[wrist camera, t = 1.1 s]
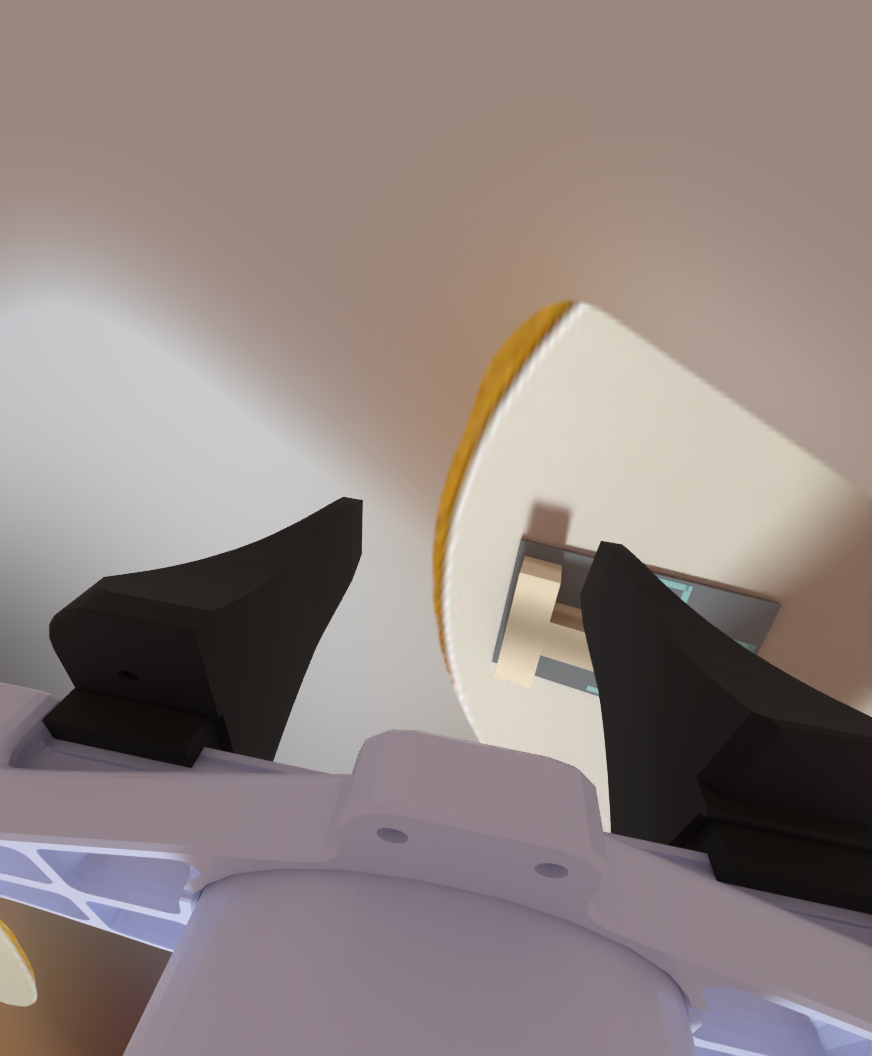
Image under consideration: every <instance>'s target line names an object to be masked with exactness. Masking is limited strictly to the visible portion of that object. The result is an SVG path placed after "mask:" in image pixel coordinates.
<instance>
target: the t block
mask: <svg viewBox="0 0 872 1056" xmlns="http://www.w3.org/2000/svg"><path fill="white" fill-rule="evenodd" d="M561 573H562V565H559V564H555V563H551V562H547V561H543V560H540V559H536V558H532V557H528V556H525V558H524V561H523V564H522V567H521V570H520V573H519V577H518V582H517V586H516V590H515V594H514V598H513V602H512V606H511V610H510V614H509V618H508V622H507V627H506V631H505V635H504V639H503V643H502V647H501V651H500V655H499V659H498V663H497V667H496V671H495V676H494V677H496V678H499V679H502V680H505V681H508V682H511V683H514V684H517V685H520V686H523V687H526V688H529V689H531V686H532V682H533V679H534V675H535V672H536V668H537V665H538V661H539V658H540V655H541V656H545V657H548V658H551V659H554V660H557V661H561V662H564V663H567V664H570V665H573V666H577V667H580V668H583V669H586V670H589V671H593V666H592V662H591V658H590V654H589V649H588V645H587V641H586V636H585V632H584V627H583V622H582V612H581V609H579V608H575V607H571V606H568V605H564V604H561V603H557V602H555V601H556V598H557V594H558V591H559V587H560V584H561ZM593 672H594V671H593Z"/></svg>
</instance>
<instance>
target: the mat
mask: <svg viewBox="0 0 872 1056" xmlns="http://www.w3.org/2000/svg"><path fill="white" fill-rule="evenodd" d="M525 556H528V557H532V558H536V559H540V560H543V561H547V562H551V563H555V564H559V565H562V573H561V584H560V587H559V591H558V594H557V598H556V601H555V602H557V603H561V604H564V605H568V606H571V607H575V608H579V609H581V596H580V593H581V590H582V588H583V585H584V583H585V580H586V578H587V575H588V573H589V570H590V568H591V565H592V563H593V560H594V558H595V557H591V556H587V555H583V554H579V553H575V552H571V551H567V550H563V549H559V548H555V547H551V546H547V545H543V544H539V543H535V542H531V541H527V540H523V539H521V543H520V547H519V551H518V555H517V560H516V564H515V568H514V572H513V576H512V580H511V585H510V589H509V593H508V597H507V601H506V606H505V610H504V614H503V618H502V622H501V626H500V631H499V635H498V639H497V643H496V647H495V652H494V656H493V660H492V662H495V663H498V659H499V655H500V651H501V647H502V643H503V639H504V635H505V631H506V627H507V622H508V618H509V614H510V610H511V606H512V602H513V598H514V594H515V590H516V586H517V582H518V577H519V573H520V570H521V567H522V564H523V561H524V558H525ZM651 572H652V571H651ZM652 573H654V574H655V575H656V576H657V577H658V578H659V579H660V580H661V581H662V582H663V583H664V584H665V585H666V586H667V587H668V588H669V589H671V590H672V591H673V592H674V593H675V594H676V595H677V596H678V597H679V598H681V599H682V600H683V601H684V602H685V603H686V604H688V605H689V606H690V607H691V608H692V609H694V610H695V611H696V612H697V613H698V614H700V615H701V616H702V617H703V618H705V619H706V620H707V621H708V622H710V623H711V624H712V625H714V626H715V627H717V628H718V629H719V630H721V631H722V632H723V633H725V634H726V635H727V636H729V637H730V638H732V639H733V640H734V641H736V642H737V643H739V644H740V645H742V646H743V647H745V648H746V649H748V650H749V651H751V652H753V653H754V654H757V652H758V650H759V648H760V646H761V644H762V642H763V640H764V638H765V636H766V634H767V632H768V630H769V628H770V626H771V624H772V622H773V620H774V618H775V616H776V614H777V612H778V610H779V608H780V606H781V605H780V604H779V603H776V602H772V601H768V600H764V599H760V598H756V597H752V596H748V595H744V594H740V593H736V592H732V591H728V590H724V589H720V588H716V587H712V586H708V585H704V584H700V583H696V582H692V581H688V580H684V579H680V578H676V577H672V576H668V575H664V574H660V573H656V572H652ZM535 676H538V677H541V678H544V679H547V680H550V681H553V682H556V683H559V684H563V685H566V686H569V687H572V688H575V689H578V690H581V691H584V692H587V693H590V694H593V695H597V696H599V693H598V688H597V683H596V679H595V675H594V672H593V671H589V670H586V669H583V668H580V667H577V666H573V665H570V664H567V663H564V662H561V661H557V660H554V659H551V658H548V657H545V656H541V655H540V658H539V661H538V665H537V668H536V672H535Z"/></svg>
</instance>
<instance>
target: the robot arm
mask: <svg viewBox="0 0 872 1056" xmlns="http://www.w3.org/2000/svg"><path fill="white" fill-rule="evenodd" d="M362 507H363V500H358V499H352V498H347V497H342V498H340V499H338V500H336V501H334V502H333V503H331V504H329V505H327V506H326V507H324V508H322V509H320V510H319V511H317V512H315V513H313V514H312V515H310V516H308V517H307V518H304V519H303V520H301V521H299V522H297V523H295V524H293V525H291V526H289V527H287V528H285V529H283V530H281V531H279V532H277V533H275V534H273V535H271V536H268V537H266V538H264V539H261V540H259V541H256V542H254V543H251V544H249V545H246V546H243V547H240V548H238V549H235V550H232V551H228V552H225V553H222V554H218V555H215V556H212V557H208V558H205V559H201V560H197V561H193V562H189V563H185V564H180V565H176V566H171V567H167V568H161V569H156V570H150V571H143V572H137V573H130V574H123V575H116V576H108V577H103V578H102V579H101V580H99V581H98V582H97V583H96V584H94V585H93V586H92V587H90V588H89V589H88V590H87V591H85V592H84V593H83V594H81V595H80V596H79V597H78V598H76V599H75V600H74V601H72V602H71V603H70V604H69V605H67V606H66V607H65V608H63V609H62V610H61V611H59V612H58V613H57V614H56V615H55V616H54V617H53V619H52V620H51V622H50V624H49V637H50V641H51V643H52V646H53V648H54V650H55V652H56V654H57V656H58V657H59V659H60V661H61V663H62V665H63V666H64V668H65V670H66V672H67V674H68V675H69V677H70V679H71V681H72V683H73V684H74V686H75V688H74V689H73V690H72V691H71V692H70V693H69V695H67V696H66V697H65V698H64V699H63V700H62V701H61V700H60V699H58V698H57V697H56V696H54V695H52V694H50V693H47V692H44V691H40V690H35V689H30V688H25V687H21V686H16V685H11V684H6V683H0V897H2V898H6V899H9V900H13V901H16V902H19V903H22V904H26V905H29V906H32V907H35V908H38V909H42V910H45V911H48V912H51V913H54V914H57V915H60V916H64V917H67V918H70V919H73V920H76V921H79V922H82V923H85V924H88V925H91V926H94V927H97V928H100V929H103V930H107V931H110V932H112V933H116V934H119V935H122V936H125V937H128V938H131V939H134V940H137V941H140V942H143V943H146V944H149V945H152V946H155V947H158V948H161V949H165V950H168V951H171V952H173V953H172V956H171V958H170V960H169V962H168V964H167V966H166V968H165V970H164V972H163V974H162V976H161V978H160V981H159V983H158V984H157V986H156V988H155V991H154V993H153V995H152V997H151V999H150V1001H149V1003H148V1005H147V1007H146V1009H145V1012H144V1013H143V1015H142V1017H141V1019H140V1021H139V1024H138V1025H137V1028H136V1030H135V1032H134V1034H133V1036H132V1038H131V1040H130V1042H129V1044H128V1046H127V1048H126V1050H125V1053H124V1054H123V1056H872V717H870V716H868V715H866V714H864V713H862V712H860V711H858V710H856V709H854V708H852V707H850V706H848V705H846V704H843V703H841V702H839V701H837V700H835V699H833V698H831V697H829V696H827V695H825V694H823V693H821V692H820V691H818V690H816V689H814V688H812V687H810V686H809V685H807V684H805V683H803V682H801V681H799V680H798V679H796V678H794V677H792V676H790V675H789V674H787V673H785V672H784V671H782V670H780V669H778V668H777V667H775V666H773V665H772V664H770V663H768V662H767V661H765V660H764V659H762V658H761V657H759V656H757V655H756V654H754V653H753V652H751V651H749V650H748V649H746V648H745V647H743V646H742V645H740V644H739V643H737V642H736V641H734V640H733V639H732V638H730V637H729V636H727V635H726V634H725V633H723V632H722V631H721V630H719V629H718V628H717V627H715V626H714V625H712V624H711V623H710V622H708V621H707V620H706V619H705V618H703V617H702V616H701V615H700V614H698V613H697V612H696V611H695V610H694V609H692V608H691V607H690V606H689V605H688V604H686V603H685V602H684V601H683V600H682V599H681V598H679V597H678V596H677V595H676V594H675V593H674V592H673V591H672V590H671V589H669V588H668V587H667V586H666V585H665V584H664V583H663V582H662V581H661V580H660V579H659V578H658V577H657V576H656V575H655V574H654V573H652V572H651V571H650V570H649V569H648V568H647V567H646V566H645V565H644V564H643V563H642V562H641V561H640V560H639V559H638V558H637V557H636V556H635V555H634V554H633V553H632V552H630V551H629V550H628V549H627V548H626V547H625V546H623V545H622V544H616V543H610V542H604V541H601V542H600V545H599V547H598V550H597V552H596V555H595V558H594V560H593V563H592V565H591V568H590V570H589V573H588V575H587V578H586V580H585V583H584V585H583V588H582V590H581V593H580V596H581V612H582V622H583V627H584V632H585V636H586V641H587V645H588V649H589V654H590V658H591V662H592V666H593V671H594V675H595V679H596V683H597V688H598V693H599V698H600V704H601V712H602V720H603V729H604V738H605V749H606V760H607V771H608V786H609V801H610V820H611V833H607V832H603V829H602V823H601V817H600V811H599V805H598V799H597V793H596V787H595V786H594V785H593V784H592V783H591V782H590V781H589V779H588V778H587V777H586V776H585V775H584V774H583V773H582V772H581V771H580V770H578V769H577V768H576V767H574V766H571V765H569V764H566V763H563V762H561V761H558V760H555V759H553V758H550V757H546V756H541V755H536V754H531V753H526V752H521V751H516V750H511V749H506V748H502V747H497V746H492V745H487V744H482V743H477V742H471V741H467V740H462V739H456V738H452V737H447V736H442V735H437V734H432V733H427V732H422V731H415V730H393V729H392V730H389V731H386V732H384V733H381V734H378V735H376V736H373V737H370V738H368V739H366V741H365V742H364V744H363V746H362V748H361V750H360V751H359V753H358V756H357V759H356V762H355V766H354V769H353V772H352V774H350V775H349V774H346V775H345V774H329V773H324V772H319V771H314V770H310V769H305V768H300V767H296V766H291V765H286V764H281V763H277V762H273V760H274V757H275V754H276V751H277V748H278V745H279V742H280V740H281V737H282V734H283V731H284V728H285V726H286V723H287V721H288V718H289V715H290V712H291V710H292V707H293V704H294V702H295V699H296V696H297V694H298V691H299V689H300V686H301V683H302V681H303V678H304V676H305V673H306V671H307V669H308V666H309V664H310V661H311V659H312V656H313V654H314V651H315V649H316V647H317V645H318V643H319V641H320V639H321V637H322V634H323V633H324V631H325V629H326V627H327V626H328V624H329V622H330V620H331V618H332V616H333V615H334V613H335V611H336V609H337V607H338V605H339V604H340V602H341V600H342V598H343V596H344V594H345V593H346V591H347V589H348V587H349V585H350V583H351V581H352V579H353V576H354V574H355V571H356V569H357V566H358V563H359V560H360V557H361V554H362V510H363V508H362Z"/></svg>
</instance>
